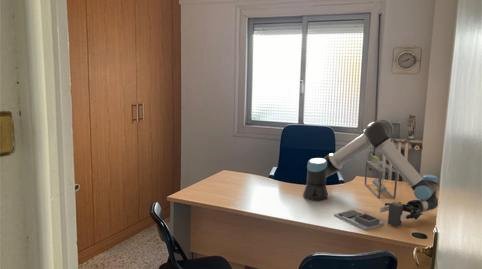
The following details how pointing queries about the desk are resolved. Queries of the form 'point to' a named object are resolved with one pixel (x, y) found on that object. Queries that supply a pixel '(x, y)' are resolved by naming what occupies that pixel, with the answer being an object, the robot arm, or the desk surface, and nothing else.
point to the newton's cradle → (378, 182)
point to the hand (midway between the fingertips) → (390, 213)
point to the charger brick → (395, 214)
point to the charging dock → (359, 219)
